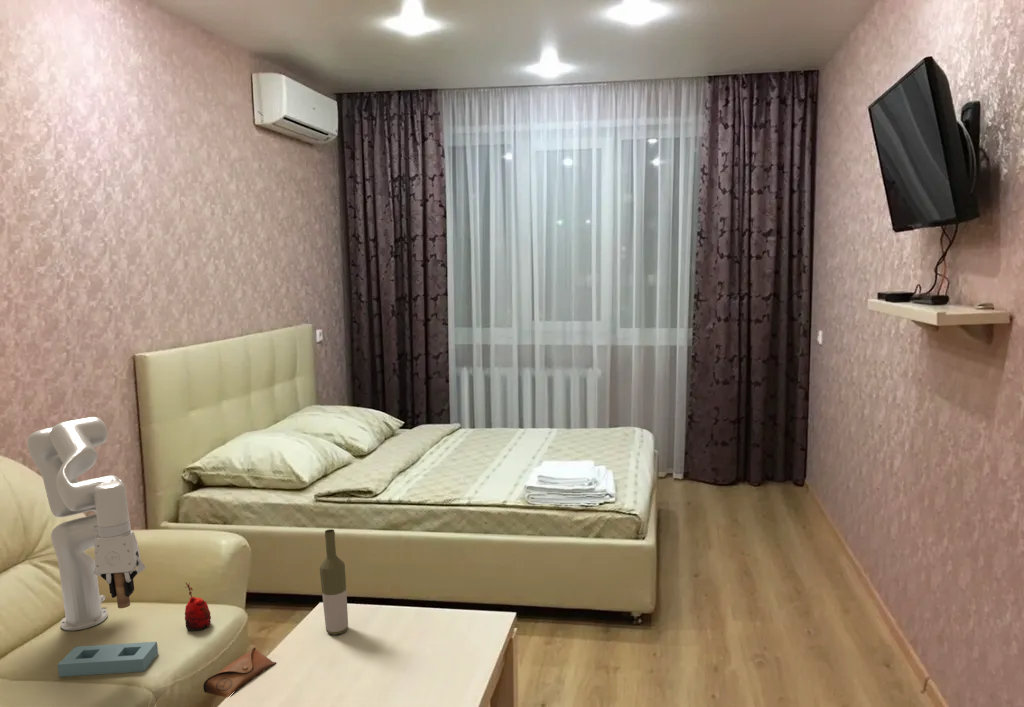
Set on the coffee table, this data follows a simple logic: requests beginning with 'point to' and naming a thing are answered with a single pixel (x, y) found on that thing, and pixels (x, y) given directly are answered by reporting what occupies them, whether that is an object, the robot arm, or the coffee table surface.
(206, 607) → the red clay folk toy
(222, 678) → the sunglasses case
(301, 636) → the coffee table surface
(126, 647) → the hole block
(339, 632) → the bottle
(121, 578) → the peg
